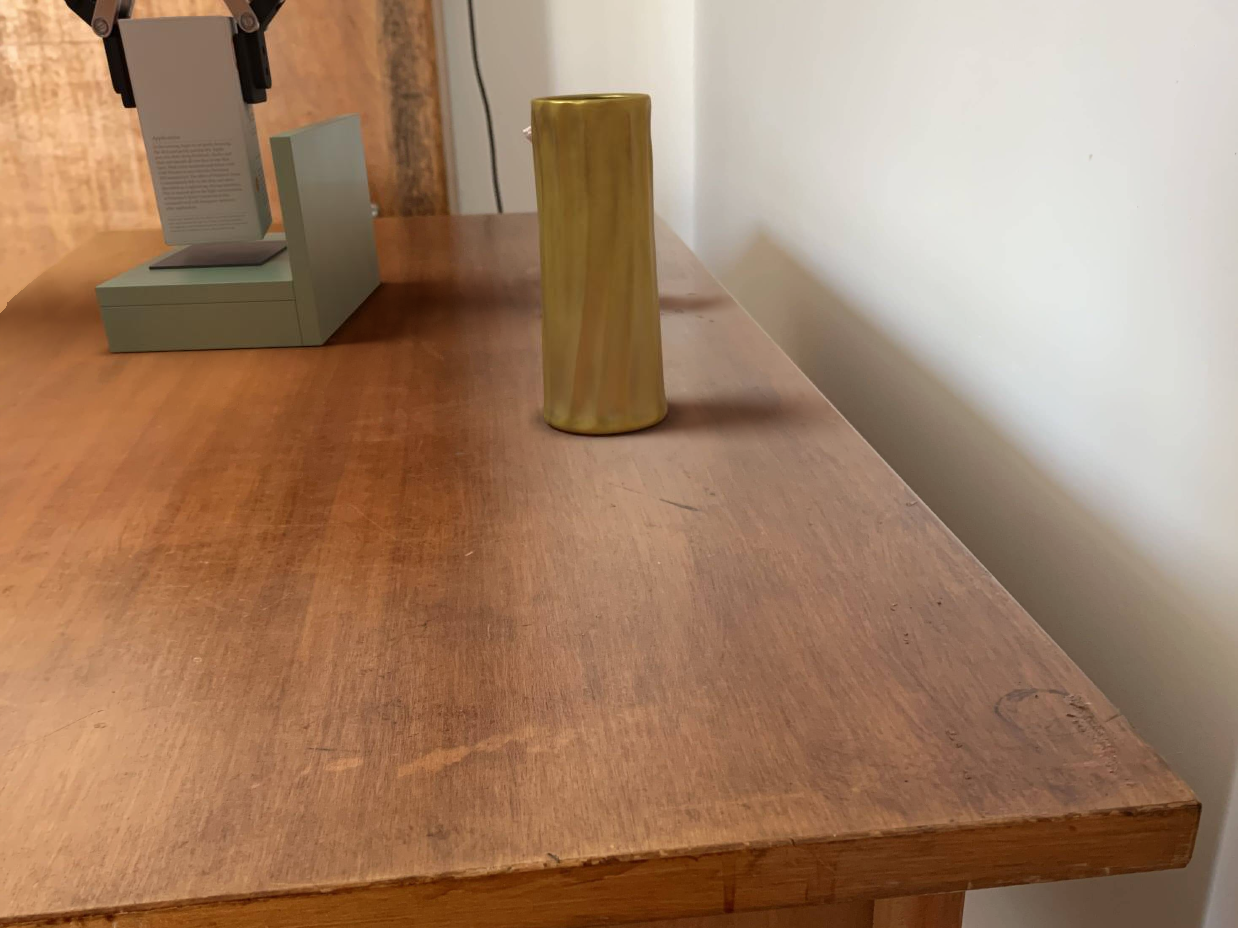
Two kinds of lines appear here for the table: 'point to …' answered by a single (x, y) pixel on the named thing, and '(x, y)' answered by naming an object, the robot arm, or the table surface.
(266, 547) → the table surface
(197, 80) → the small box
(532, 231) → the table surface
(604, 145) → the vase
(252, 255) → the green l-shaped stand
